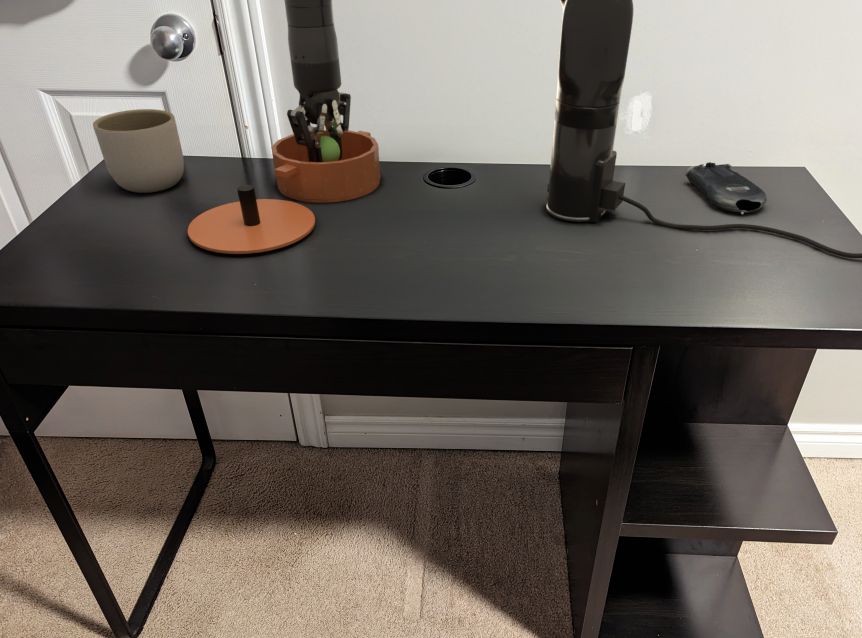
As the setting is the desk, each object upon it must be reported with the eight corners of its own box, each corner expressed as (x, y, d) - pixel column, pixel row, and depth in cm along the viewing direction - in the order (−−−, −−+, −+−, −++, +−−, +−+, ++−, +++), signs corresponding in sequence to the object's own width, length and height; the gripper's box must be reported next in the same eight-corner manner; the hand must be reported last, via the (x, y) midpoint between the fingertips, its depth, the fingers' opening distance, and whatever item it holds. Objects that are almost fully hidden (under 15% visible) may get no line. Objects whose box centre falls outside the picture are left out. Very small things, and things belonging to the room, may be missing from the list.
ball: (347, 164, 118) (344, 134, 115) (329, 173, 115) (325, 143, 111) (324, 159, 120) (320, 130, 117) (306, 167, 116) (302, 138, 113)
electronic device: (677, 191, 120) (722, 214, 108) (685, 159, 118) (733, 178, 105) (723, 195, 123) (773, 217, 110) (732, 163, 120) (785, 182, 107)
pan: (407, 171, 124) (405, 135, 120) (328, 216, 108) (323, 176, 104) (330, 155, 130) (326, 120, 127) (245, 195, 114) (237, 156, 110)
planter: (96, 191, 115) (74, 125, 109) (149, 167, 124) (132, 105, 118) (154, 203, 111) (135, 135, 105) (204, 177, 121) (190, 114, 114)
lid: (340, 220, 107) (336, 179, 103) (257, 269, 94) (248, 224, 90) (250, 197, 114) (243, 157, 110) (161, 239, 101) (149, 196, 97)
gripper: (303, 68, 100) (317, 181, 111) (360, 50, 110) (368, 155, 121) (264, 62, 103) (282, 172, 113) (324, 45, 113) (334, 148, 123)
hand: (326, 163), depth 117 cm, fingers closed on ball, 4 cm apart
